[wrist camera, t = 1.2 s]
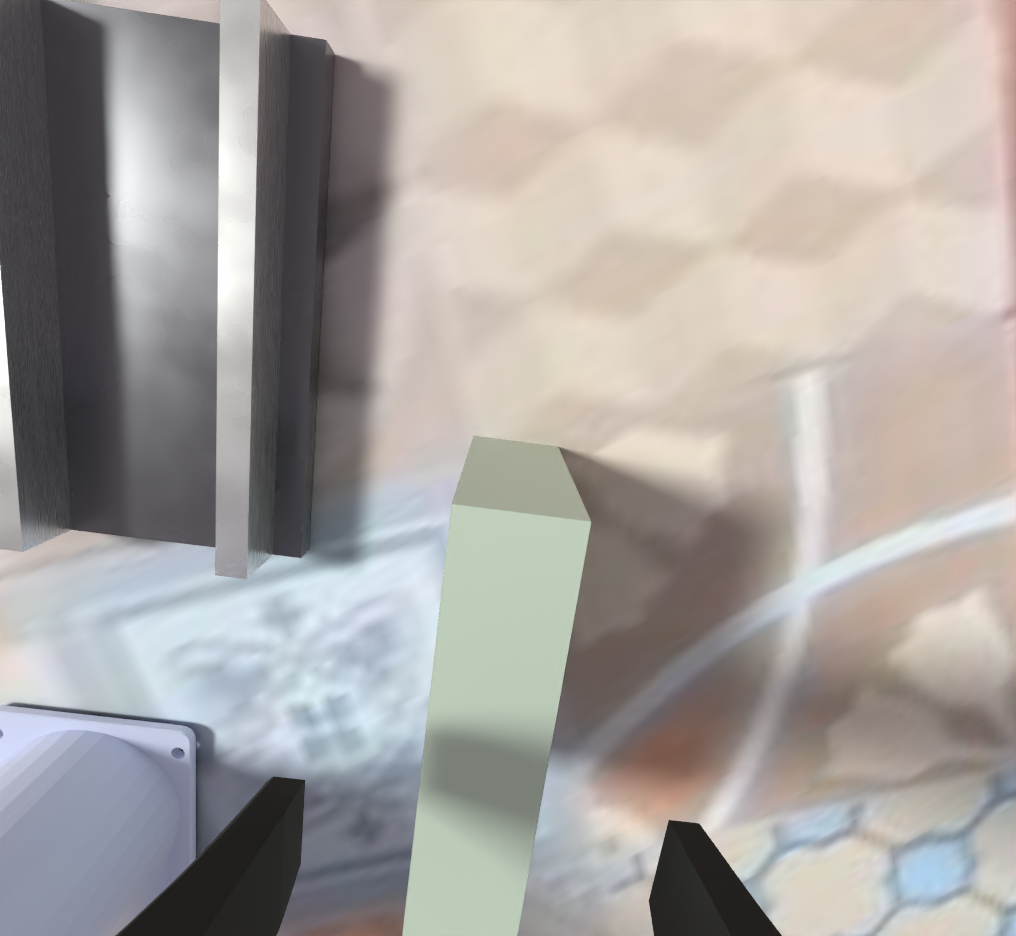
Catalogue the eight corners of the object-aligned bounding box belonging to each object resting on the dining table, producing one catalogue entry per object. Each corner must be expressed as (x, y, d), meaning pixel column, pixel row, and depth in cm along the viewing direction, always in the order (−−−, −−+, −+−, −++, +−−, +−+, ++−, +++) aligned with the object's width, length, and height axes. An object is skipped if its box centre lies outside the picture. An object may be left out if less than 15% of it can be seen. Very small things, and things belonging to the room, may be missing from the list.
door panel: (512, 734, 22) (515, 947, 15) (438, 726, 22) (402, 936, 15) (558, 446, 20) (591, 521, 12) (473, 435, 20) (451, 504, 12)
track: (334, 53, 17) (300, -1, 14) (309, 549, 20) (278, 582, 18) (-7, 1, 16) (-110, -65, 14) (32, 514, 20) (-43, 543, 17)
